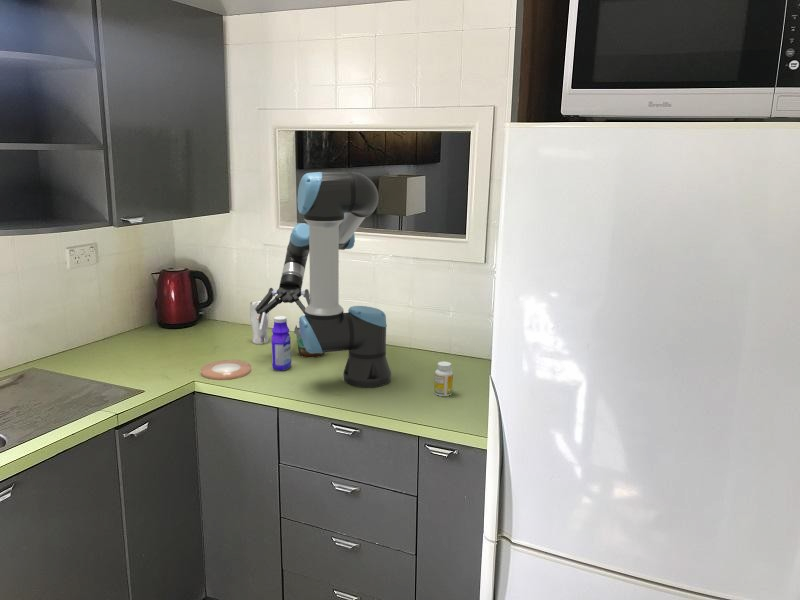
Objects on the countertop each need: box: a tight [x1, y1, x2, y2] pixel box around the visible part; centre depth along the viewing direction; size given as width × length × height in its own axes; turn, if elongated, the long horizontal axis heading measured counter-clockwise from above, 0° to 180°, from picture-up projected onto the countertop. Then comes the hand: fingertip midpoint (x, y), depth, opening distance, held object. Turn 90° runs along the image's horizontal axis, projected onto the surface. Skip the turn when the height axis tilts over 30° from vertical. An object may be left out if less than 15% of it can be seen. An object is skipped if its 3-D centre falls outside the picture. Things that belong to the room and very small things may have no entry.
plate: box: [200, 359, 252, 381], centre depth 213 cm, size 16×16×1 cm
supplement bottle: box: [433, 361, 454, 397], centre depth 196 cm, size 5×5×10 cm
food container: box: [293, 324, 326, 358], centre depth 228 cm, size 12×6×10 cm, turn 80°
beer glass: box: [249, 300, 270, 345], centre depth 243 cm, size 7×7×15 cm
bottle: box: [270, 315, 292, 372], centre depth 215 cm, size 7×6×17 cm
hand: (281, 332), depth 216 cm, fingers open, 13 cm apart
